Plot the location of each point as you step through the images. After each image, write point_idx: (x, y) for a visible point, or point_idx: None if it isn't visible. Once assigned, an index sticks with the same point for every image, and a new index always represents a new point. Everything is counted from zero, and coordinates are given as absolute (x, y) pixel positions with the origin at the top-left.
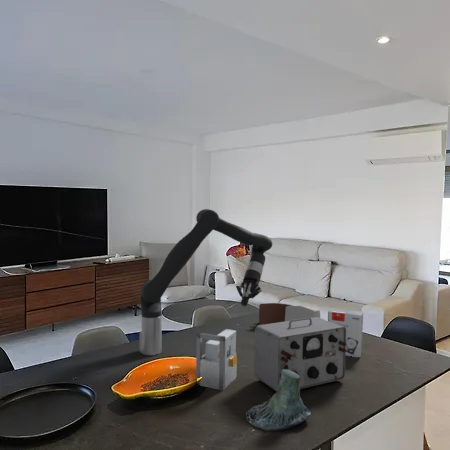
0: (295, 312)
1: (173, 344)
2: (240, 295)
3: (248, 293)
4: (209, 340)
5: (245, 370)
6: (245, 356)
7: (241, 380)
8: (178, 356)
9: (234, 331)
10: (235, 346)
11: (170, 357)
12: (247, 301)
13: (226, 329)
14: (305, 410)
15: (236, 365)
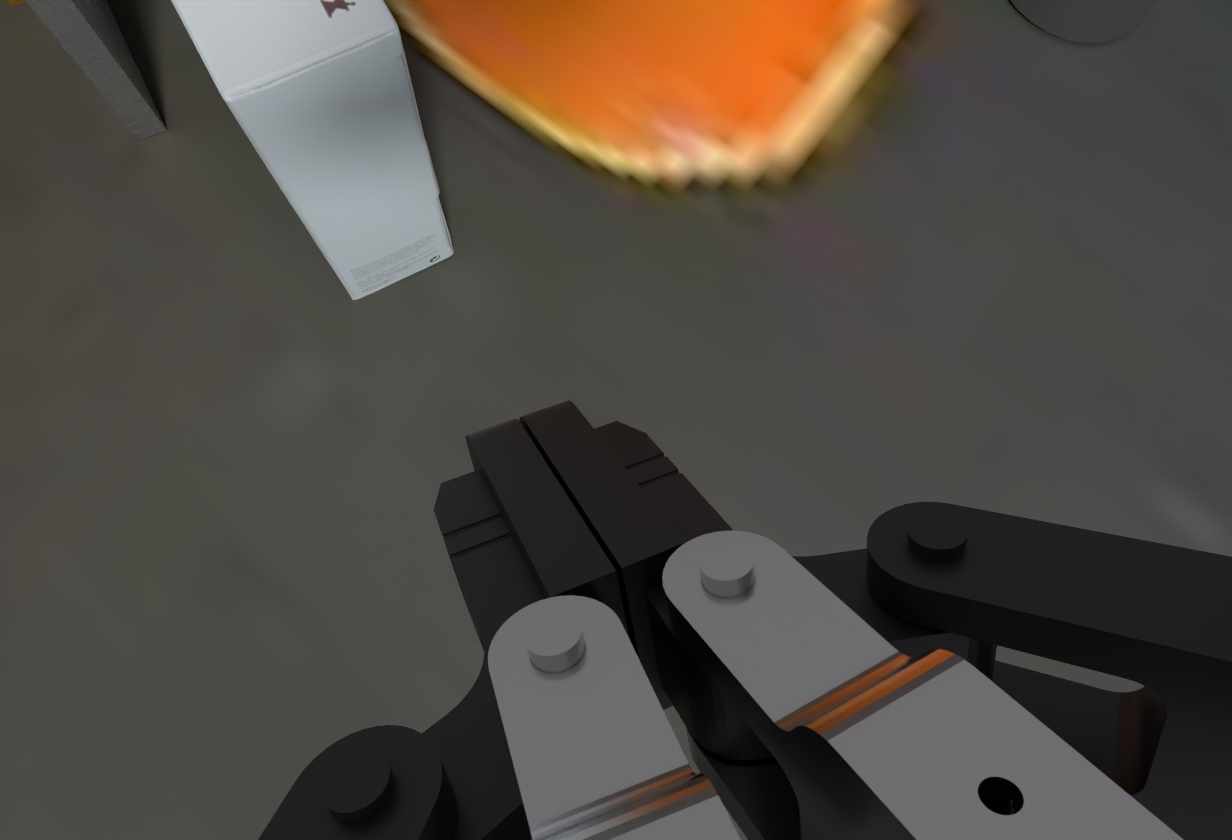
0: None
1: (1159, 213)
2: (887, 535)
3: (543, 775)
4: None
5: (199, 310)
6: None
7: (54, 129)
8: (865, 72)
9: (204, 41)
10: (294, 209)
11: (881, 11)
12: (468, 604)
13: (368, 9)
14: None
15: (81, 68)
